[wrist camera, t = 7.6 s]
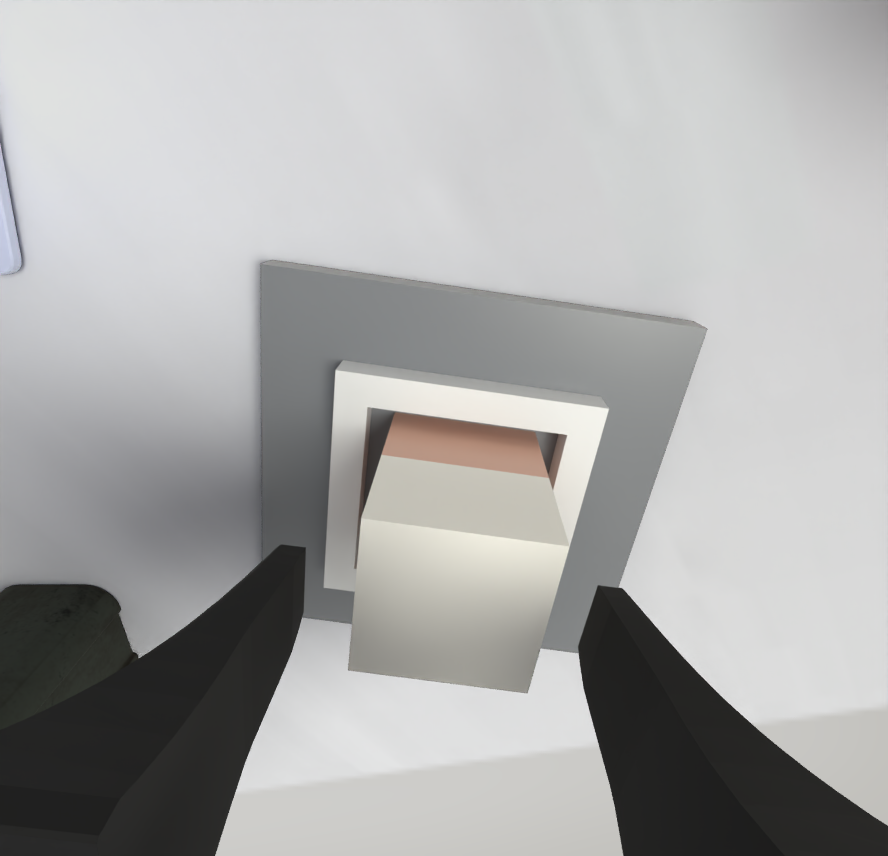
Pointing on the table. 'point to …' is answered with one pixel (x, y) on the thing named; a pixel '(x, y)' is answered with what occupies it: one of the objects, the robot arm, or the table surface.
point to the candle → (56, 645)
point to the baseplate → (459, 412)
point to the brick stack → (457, 556)
